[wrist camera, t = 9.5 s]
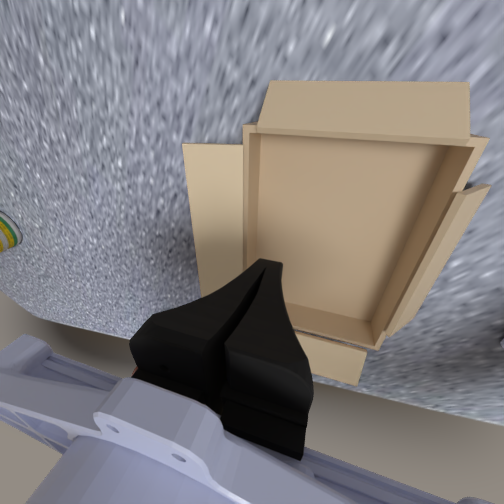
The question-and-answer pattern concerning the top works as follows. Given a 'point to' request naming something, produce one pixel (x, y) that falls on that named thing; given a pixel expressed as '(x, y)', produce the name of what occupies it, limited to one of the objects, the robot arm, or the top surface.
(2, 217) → the supplement bottle
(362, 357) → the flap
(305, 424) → the robot arm
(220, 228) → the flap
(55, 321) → the top surface
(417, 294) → the carton
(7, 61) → the top surface
